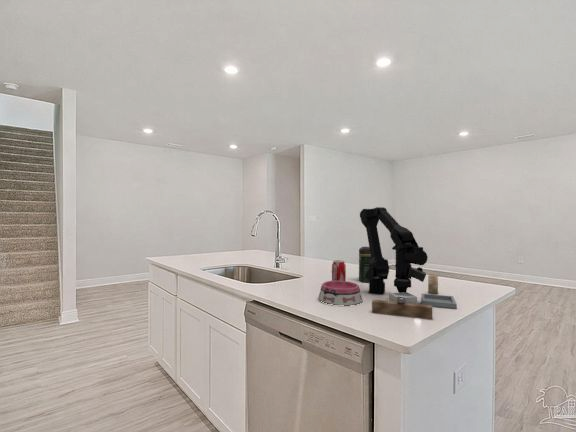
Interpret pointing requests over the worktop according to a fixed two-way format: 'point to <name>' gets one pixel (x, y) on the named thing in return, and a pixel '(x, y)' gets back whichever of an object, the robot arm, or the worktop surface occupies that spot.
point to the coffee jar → (364, 263)
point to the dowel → (432, 284)
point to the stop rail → (402, 308)
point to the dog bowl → (340, 293)
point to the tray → (439, 301)
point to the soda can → (338, 271)
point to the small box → (408, 297)
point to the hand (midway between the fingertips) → (403, 299)
